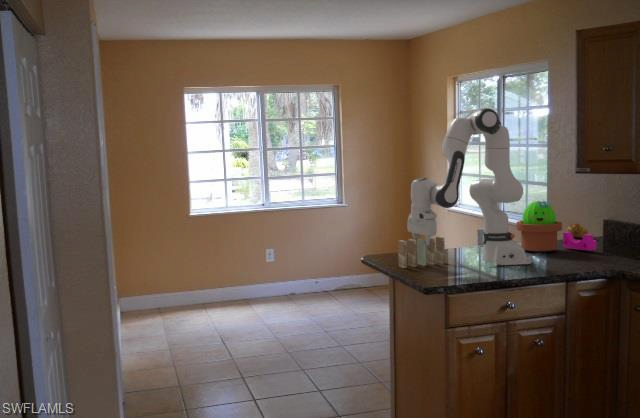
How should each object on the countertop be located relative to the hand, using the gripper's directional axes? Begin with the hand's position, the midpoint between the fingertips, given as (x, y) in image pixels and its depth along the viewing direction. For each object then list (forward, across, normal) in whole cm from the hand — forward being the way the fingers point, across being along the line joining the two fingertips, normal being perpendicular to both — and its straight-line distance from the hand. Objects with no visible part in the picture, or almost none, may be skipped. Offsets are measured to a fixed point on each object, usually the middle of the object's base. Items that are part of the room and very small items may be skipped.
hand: (421, 243), depth 305 cm
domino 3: (+10, 0, +10) cm, 14 cm away
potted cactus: (+10, -5, +72) cm, 73 cm away
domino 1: (+10, 0, -5) cm, 11 cm away
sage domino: (+10, 0, 0) cm, 10 cm away
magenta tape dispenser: (+11, +3, +91) cm, 91 cm away
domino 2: (+10, 0, +5) cm, 11 cm away
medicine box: (+10, -31, +58) cm, 66 cm away
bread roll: (+11, -28, +118) cm, 122 cm away
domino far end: (+10, 0, -10) cm, 14 cm away
